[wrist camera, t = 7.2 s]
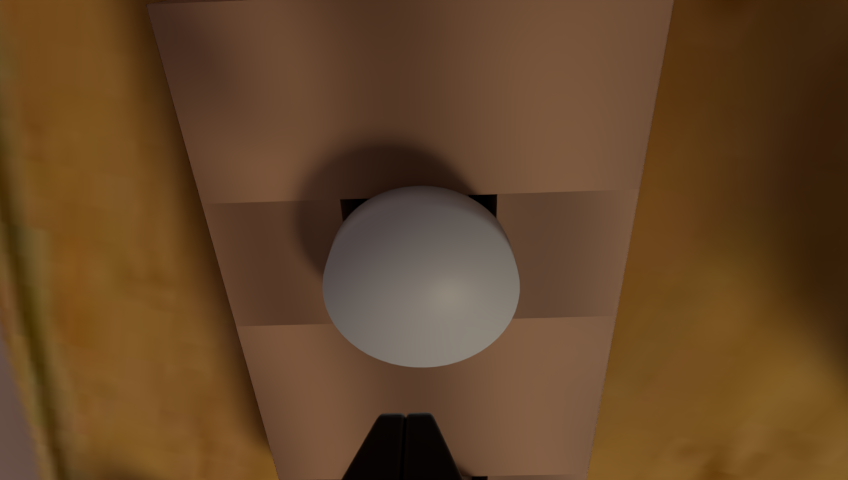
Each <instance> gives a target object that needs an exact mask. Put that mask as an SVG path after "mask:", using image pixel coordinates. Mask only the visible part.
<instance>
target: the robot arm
mask: <svg viewBox="0 0 848 480" xmlns="http://www.w3.org/2000/svg"><path fill="white" fill-rule="evenodd" d="M341 480H463V478H462V476H461V474H460V471H459V469H458V467H457V465H456V463H455V461H454V459H453V456H452V454H451V452H450V450H449V448H448V446H447V444H446V441H445V439H444V437H443V435H442V433H441V431H440V428H439V426H438V424H437V422H436V420H435V418H434V416H433V415H432V414H431V413H429V412H418V413H409V414H407V416H405V415H404V414H403V413H383V414H381V415H379V416H378V417H377V419H376V421H375V422H374V424H373V426H372V427H371V429H370V431H369V433H368V434H367V436H366V438H365V440H364V441H363V443H362V445H361V446H360V448H359V450H358V452H357V453H356V455H355V457H354V458H353V460H352V462H351V464H350V465H349V467H348V469H347V471H346V472H345V474H344V476H343V477H342V479H341Z"/></svg>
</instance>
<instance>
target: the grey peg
mask: <svg viewBox="0 0 848 480" xmlns="http://www.w3.org/2000/svg"><path fill="white" fill-rule="evenodd" d="M322 288H323V298H324V302H325V306H326V309H327V311H328V314H329V316H330V318H331V320H332V321H333V323H334V325H335V326H336V328H337V329H338V330H339V331H340V333H341V334H342V335H343V336H344V337H345V338H346V339H347V340H348V341H349V342H350V343H352V344H353V345H354V346H355V347H357V348H358V349H360V350H361V351H363V352H365V353H366V354H368V355H370V356H372V357H374V358H377V359H379V360H382V361H385V362H388V363H391V364H396V365H400V366H407V367H437V366H443V365H449V364H452V363H456V362H459V361H462V360H464V359H467V358H469V357H471V356H473V355H475V354H477V353H479V352H481V351H482V350H484V349H485V348H486V347H488V346H489V345H490V344H492V343H493V342H494V341H495V340H496V339H497V338H498V337H499V336H500V335H501V334H502V333H503V332H504V330H505V329H506V327H507V326H508V324H509V323H510V321H511V319H512V317H513V315H514V313H515V311H516V307H517V304H518V300H519V293H520V280H519V275H518V269H517V266H516V262H515V259H514V255H513V251H512V248H511V245H510V242H509V239H508V236H507V234H506V233H505V231H504V229H503V227H502V226H501V224H500V223H499V222H498V220H497V219H496V218H495V217H494V216H493V215H492V214H491V213H490V212H489V211H488V210H487V209H486V208H485V207H484V206H482V205H481V204H480V203H478V202H477V201H475V200H473V199H471V198H470V197H469V196H468V195H463V194H461V193H458V192H456V191H453V190H449V189H445V188H440V187H433V186H409V187H402V188H397V189H393V190H389V191H387V192H384V193H381V194H379V195H377V196H375V197H373V198H371V199H369V200H367V201H366V202H364V203H363V204H361V205H360V206H359V207H357V208H356V209H355V210H354V211H353V212H352V213H351V214H350V215H349V216H348V217H347V218H346V220H345V221H344V222H343V223H342V225H341V227H340V228H339V230H338V232H337V234H336V236H335V239H334V241H333V244H332V247H331V250H330V253H329V256H328V260H327V263H326V266H325V270H324V274H323V285H322Z"/></svg>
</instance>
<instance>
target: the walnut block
mask: <svg viewBox="0 0 848 480" xmlns="http://www.w3.org/2000/svg"><path fill="white" fill-rule="evenodd" d="M673 3H674V0H166V1H161V2H156V3H152V4H147V5H146V7H147V11H148V14H149V18H150V21H151V25H152V28H153V32H154V36H155V39H156V43H157V46H158V50H159V53H160V57H161V61H162V64H163V68H164V71H165V75H166V78H167V82H168V85H169V89H170V93H171V96H172V100H173V103H174V107H175V110H176V114H177V118H178V121H179V125H180V128H181V132H182V135H183V139H184V143H185V146H186V150H187V153H188V157H189V160H190V164H191V168H192V171H193V175H194V178H195V182H196V185H197V189H198V192H199V196H200V200H201V203H202V207H203V210H204V214H205V217H206V221H207V225H208V228H209V232H210V235H211V239H212V242H213V246H214V250H215V253H216V257H217V260H218V264H219V267H220V271H221V275H222V278H223V282H224V285H225V289H226V292H227V296H228V300H229V303H230V307H231V310H232V314H233V317H234V321H235V324H236V328H237V332H238V335H239V339H240V342H241V346H242V349H243V353H244V357H245V360H246V364H247V367H248V371H249V374H250V378H251V382H252V385H253V389H254V392H255V396H256V399H257V403H258V407H259V410H260V414H261V417H262V421H263V424H264V428H265V431H266V435H267V439H268V442H269V446H270V449H271V453H272V456H273V460H274V464H275V467H276V471H277V474H278V478H279V480H341V479H342V477H343V476H344V474H345V472H346V471H347V469H348V467H349V465H350V464H351V462H352V460H353V458H354V457H355V455H356V453H357V452H358V450H359V448H360V446H361V445H362V443H363V441H364V440H365V438H366V436H367V434H368V433H369V431H370V429H371V427H372V426H373V424H374V422H375V421H376V419H377V417H378V416H379V415H381V414H383V413H403V414H404V415H405V416H407V414H409V413H418V412H429V413H431V414H432V415H433V416H434V418H435V420H436V422H437V424H438V426H439V428H440V431H441V433H442V435H443V437H444V439H445V441H446V444H447V446H448V448H449V450H450V452H451V454H452V456H453V459H454V461H455V463H456V465H457V467H458V469H459V471H460V474H461V476H462V477H463V476H472V480H586V479H587V473H588V468H589V463H590V457H591V452H592V446H593V441H594V435H595V430H596V424H597V419H598V413H599V408H600V402H601V397H602V391H603V386H604V380H605V375H606V370H607V364H608V359H609V353H610V348H611V342H612V337H613V331H614V326H615V320H616V315H617V309H618V304H619V298H620V293H621V287H622V282H623V276H624V271H625V266H626V260H627V255H628V249H629V244H630V238H631V233H632V227H633V222H634V216H635V211H636V205H637V200H638V194H639V189H640V183H641V178H642V173H643V167H644V162H645V156H646V151H647V145H648V140H649V134H650V129H651V123H652V118H653V112H654V107H655V101H656V96H657V90H658V85H659V80H660V74H661V69H662V63H663V58H664V52H665V47H666V41H667V36H668V30H669V25H670V19H671V14H672V8H673ZM409 186H433V187H440V188H445V189H449V190H453V191H456V192H458V193H461V194H463V195H478V197H477V202H478V203H480V204H481V205H482V206H484V207H485V208H486V209H487V210H488V211H489V212H490V213H491V214H492V215H493V216H494V217H495V218H496V219H497V220H498V222H499V223H500V224H501V226H502V227H503V229H504V231H505V233H506V234H507V236H508V239H509V242H510V245H511V248H512V251H513V255H514V259H515V262H516V266H517V269H518V275H519V280H520V293H519V300H518V304H517V307H516V311H515V313H514V315H513V317H512V319H511V321H510V323H509V324H508V326H507V327H506V329H505V330H504V332H503V333H502V334H501V335H500V336H499V337H498V338H497V339H496V340H495V341H494V342H493V343H492V344H490V345H489V346H488V347H486V348H485V349H484V350H482V351H481V352H479V353H477V354H475V355H473V356H471V357H469V358H467V359H464V360H462V361H459V362H456V363H452V364H449V365H443V366H437V367H407V366H400V365H396V364H391V363H388V362H385V361H382V360H379V359H377V358H374V357H372V356H370V355H368V354H366V353H365V352H363V351H361V350H360V349H358V348H357V347H355V346H354V345H353V344H352V343H350V342H349V341H348V340H347V339H346V338H345V337H344V336H343V335H342V334H341V333H340V331H339V330H338V329H337V328H336V326H335V325H334V323H333V321H332V320H331V318H330V316H329V314H328V311H327V309H326V306H325V302H324V298H323V288H322V285H323V274H324V270H325V266H326V263H327V260H328V256H329V253H330V250H331V247H332V244H333V241H334V239H335V236H336V234H337V232H338V230H339V228H340V227H341V225H342V223H343V222H344V221H345V220H346V218H347V217H348V216H349V215H350V214H351V213H352V212H353V211H354V210H355V209H356V208H357V207H359V206H360V205H361V204H363V203H364V202H366V201H367V200H369V199H370V198H373V197H375V196H377V195H379V194H381V193H384V192H387V191H389V190H393V189H397V188H402V187H409Z"/></svg>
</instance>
